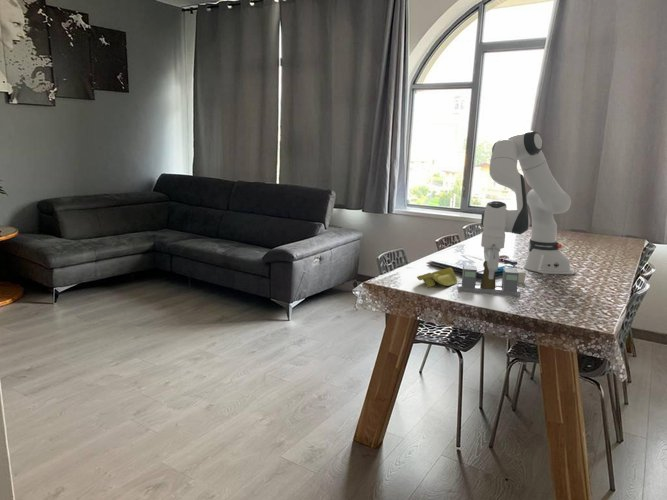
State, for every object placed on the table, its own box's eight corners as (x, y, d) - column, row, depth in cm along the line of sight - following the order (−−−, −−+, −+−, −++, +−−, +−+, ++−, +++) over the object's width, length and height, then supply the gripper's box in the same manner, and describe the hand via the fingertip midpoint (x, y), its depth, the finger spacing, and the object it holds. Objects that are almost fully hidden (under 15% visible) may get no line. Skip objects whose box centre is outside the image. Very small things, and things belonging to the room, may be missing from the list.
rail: (517, 291, 202) (518, 286, 202) (520, 296, 195) (520, 291, 195) (457, 286, 207) (458, 282, 207) (458, 291, 200) (458, 286, 200)
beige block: (519, 280, 219) (520, 269, 218) (524, 283, 214) (525, 272, 213) (510, 280, 219) (511, 269, 218) (515, 283, 214) (516, 272, 213)
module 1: (474, 284, 205) (475, 265, 204) (475, 289, 198) (476, 270, 197) (461, 283, 206) (463, 264, 205) (462, 288, 199) (464, 269, 198)
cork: (496, 285, 203) (498, 259, 200) (494, 289, 197) (497, 263, 195) (481, 283, 205) (483, 258, 202) (479, 287, 199) (481, 261, 197)
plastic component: (433, 272, 220) (453, 266, 214) (438, 288, 219) (458, 282, 213) (412, 278, 204) (433, 271, 198) (417, 295, 204) (438, 289, 198)
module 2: (514, 287, 202) (516, 268, 200) (516, 292, 195) (518, 273, 193) (501, 286, 203) (503, 267, 201) (503, 291, 196) (505, 272, 194)
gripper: (504, 248, 186) (500, 283, 189) (498, 238, 206) (495, 270, 209) (486, 247, 187) (483, 282, 191) (482, 237, 207) (479, 269, 210)
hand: (489, 275), depth 200 cm, fingers open, 8 cm apart
